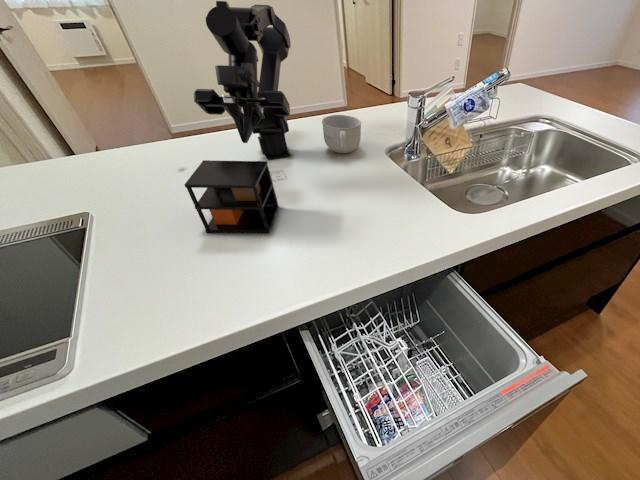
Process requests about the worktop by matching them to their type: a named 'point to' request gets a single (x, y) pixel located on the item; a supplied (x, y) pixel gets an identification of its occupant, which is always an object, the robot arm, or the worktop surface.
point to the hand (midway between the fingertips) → (244, 142)
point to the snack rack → (235, 196)
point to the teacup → (342, 133)
